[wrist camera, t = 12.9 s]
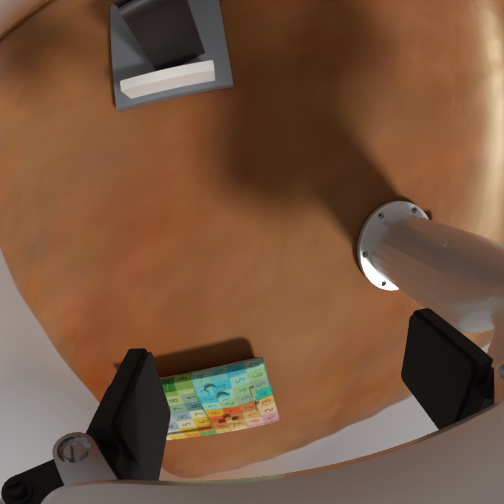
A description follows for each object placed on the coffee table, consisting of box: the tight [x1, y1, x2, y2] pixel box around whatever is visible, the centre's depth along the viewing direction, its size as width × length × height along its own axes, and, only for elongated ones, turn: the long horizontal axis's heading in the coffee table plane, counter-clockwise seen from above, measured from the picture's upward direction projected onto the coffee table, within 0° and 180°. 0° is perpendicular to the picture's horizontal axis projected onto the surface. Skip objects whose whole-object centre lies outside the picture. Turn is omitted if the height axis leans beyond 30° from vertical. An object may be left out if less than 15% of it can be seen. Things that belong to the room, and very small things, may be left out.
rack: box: [110, 0, 233, 111], centre depth 28 cm, size 14×16×6 cm
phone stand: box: [113, 0, 205, 71], centre depth 23 cm, size 9×6×12 cm, turn 27°
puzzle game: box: [160, 357, 280, 440], centre depth 41 cm, size 12×5×20 cm
